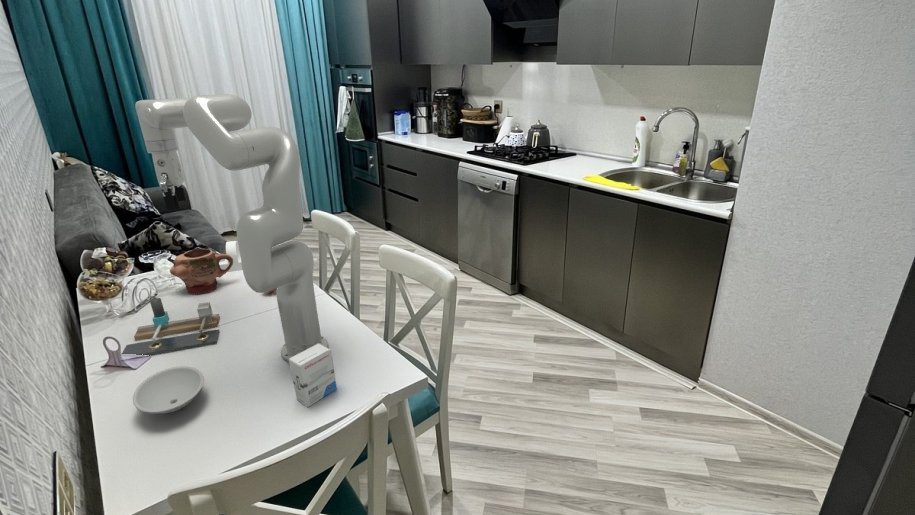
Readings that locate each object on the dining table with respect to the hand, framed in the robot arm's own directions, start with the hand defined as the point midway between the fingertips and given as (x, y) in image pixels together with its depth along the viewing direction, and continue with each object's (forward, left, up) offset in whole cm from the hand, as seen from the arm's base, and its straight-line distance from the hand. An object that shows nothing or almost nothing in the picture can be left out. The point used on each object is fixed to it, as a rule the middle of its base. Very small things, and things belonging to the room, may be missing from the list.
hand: (177, 205), depth 138 cm
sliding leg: (-12, +10, -35) cm, 38 cm away
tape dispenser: (+39, -6, -37) cm, 54 cm away
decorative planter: (+21, +2, -36) cm, 42 cm away
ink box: (-55, -32, -37) cm, 73 cm away
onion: (+8, -20, -36) cm, 42 cm away
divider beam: (-12, +6, -36) cm, 39 cm away
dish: (-47, 0, -37) cm, 60 cm away
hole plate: (-18, +6, -36) cm, 41 cm away
